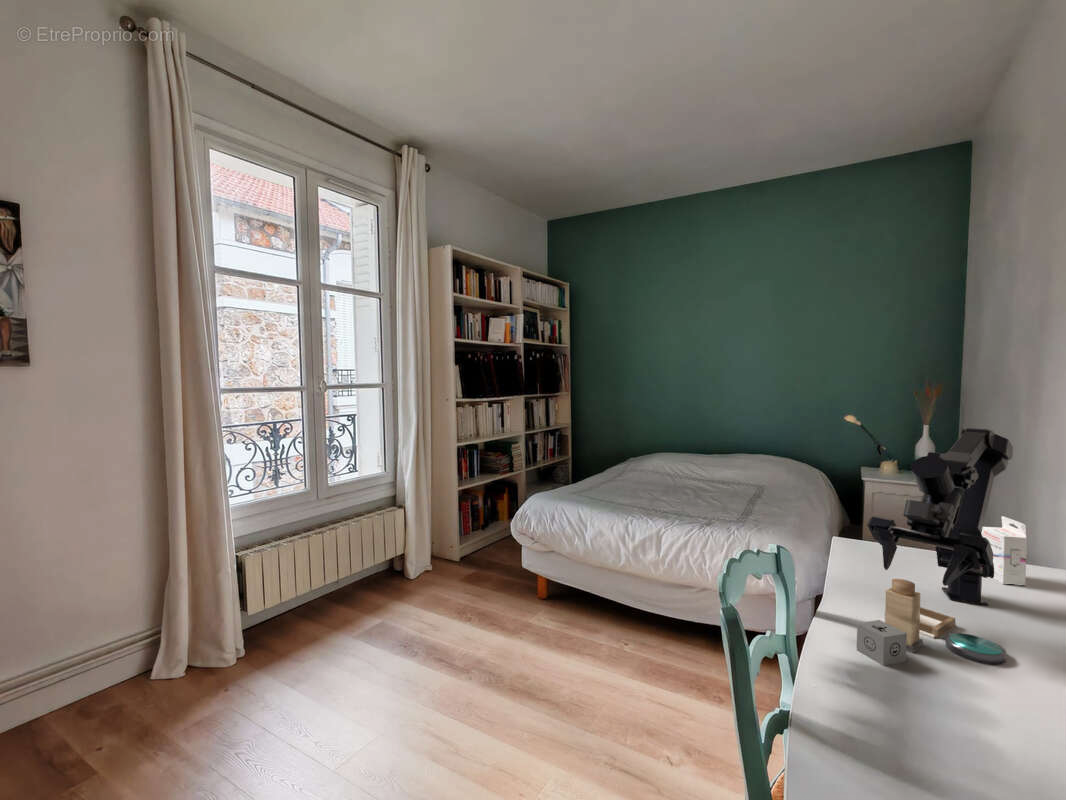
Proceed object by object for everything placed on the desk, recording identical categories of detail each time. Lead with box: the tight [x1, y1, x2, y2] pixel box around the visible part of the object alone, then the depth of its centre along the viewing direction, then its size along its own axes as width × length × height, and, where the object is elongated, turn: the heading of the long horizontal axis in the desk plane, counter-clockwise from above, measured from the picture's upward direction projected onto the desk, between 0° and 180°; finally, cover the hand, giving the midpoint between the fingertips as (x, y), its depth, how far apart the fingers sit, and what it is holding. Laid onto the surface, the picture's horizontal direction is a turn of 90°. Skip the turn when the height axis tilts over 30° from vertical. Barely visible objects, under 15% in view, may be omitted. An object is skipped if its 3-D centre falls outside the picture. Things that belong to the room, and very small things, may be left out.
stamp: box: [884, 578, 923, 654], centre depth 91 cm, size 5×5×11 cm
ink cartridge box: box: [981, 515, 1028, 586], centre depth 121 cm, size 9×5×15 cm, turn 168°
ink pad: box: [945, 632, 1007, 666], centre depth 88 cm, size 8×8×2 cm
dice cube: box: [856, 619, 907, 666], centre depth 87 cm, size 5×5×5 cm
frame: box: [919, 606, 956, 639], centre depth 98 cm, size 10×9×2 cm
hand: (913, 576), depth 93 cm, fingers open, 9 cm apart
